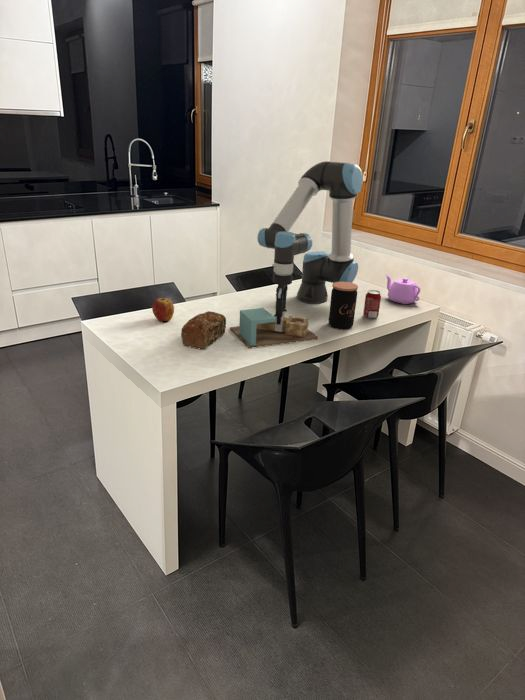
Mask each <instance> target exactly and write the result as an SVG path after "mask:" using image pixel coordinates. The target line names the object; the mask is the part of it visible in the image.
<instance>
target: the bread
mask: <svg viewBox="0 0 525 700" xmlns="http://www.w3.org/2000/svg"><path fill="white" fill-rule="evenodd" d="M226 326H227V318H226V316H225V315H224V314H222V313H218V312H216V311H215V312H214V311H210V310H209V311H206V312H203V313H199V314H197V315H195V316H193V317H192V318H191V319H189V320H187V322H185V324H184V325H183V326H182V328H181V332H180V335H181V336H180V337H181V341H182V345H184V346H186V345H187V346H186V347H189V346H191V347H190V348H193V347H195V348H194V349H198V348H200V349H199V350H205V349H207V348H208V347H209V345H210V346H211V345H212V344H214V343H215V342H216V340H217V339H218V340H219V339H220V338H221V337H222V336H223V334H224V335H225V333H226V328H227V327H226ZM218 340H217V341H218ZM213 342H214V343H213Z"/></svg>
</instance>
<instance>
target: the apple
mask: <svg viewBox="0 0 525 700" xmlns="http://www.w3.org/2000/svg"><path fill="white" fill-rule="evenodd" d="M174 305H175V304H174V303H173V302H172V301H171V299H170V298H165V297H159V298H156V299H155V300H154V301H153V303H152V306H151V309H152V313H153V315H154V317H155V318H156V320H158V321H159V322H160V321H168V322H169V321H171V319H172V318H173V315H174V313H175V307H174Z"/></svg>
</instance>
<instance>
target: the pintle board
mask: <svg viewBox="0 0 525 700" xmlns="http://www.w3.org/2000/svg"><path fill="white" fill-rule="evenodd" d="M295 323H302V322H300V321H296V322H295ZM229 331H231V332H232V333H233V334H234V336H235V337H236V338H237V339H238V340H239V341H240V342H241V341H242V342H243V343H244V344H245V345H246V346H247V347H248V348H247V347H246V346H245V345H244V344H243V343H242V342H241V343H242V344H243V345H244V346H245V347H246V348H247V349H253V348H252V346H251V345H250V344H249V343H248V342H247V341H246V340H245V339H244V338H243V337H242V336H241V335H240V334H239V325H238V326H230V327H229ZM312 339H314V340H318V336H317V334H315V333H314V332H312V331H311V330H310V329H309V328H308V329H307V333H306V336H305V337H301V336H293V335H286V334H285V332H278V331H270V330H263V329H256V348H259V347H258V346H263V347H266V346H265V345H270V346H273V345H272V344H277V345H282V344H281V343H285V344H290V343H289V342H292V343H297V342H296V341H299V342H304V340H306V341H313V340H312ZM253 346H254V347H255V345H253Z"/></svg>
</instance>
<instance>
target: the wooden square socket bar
mask: <svg viewBox="0 0 525 700" xmlns="http://www.w3.org/2000/svg"><path fill="white" fill-rule="evenodd" d="M273 316H274V315H273ZM274 317H276V316H274ZM309 320H310V318H308V317H300V316H299V317H298V316H294V315H293V316H292V315H289V316H288V317H283V324H282V332H285V334H286V335H293V336H301V337H305V336H306V333H307V329H308V330H309ZM296 321H300V322H302V323H295V322H296ZM275 324H276V322H270V323H262V324H257V327H256V329H263V330H270V331H275ZM278 332H279V331H278Z"/></svg>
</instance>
